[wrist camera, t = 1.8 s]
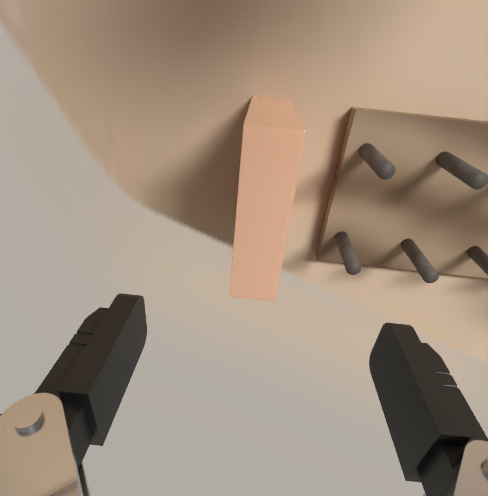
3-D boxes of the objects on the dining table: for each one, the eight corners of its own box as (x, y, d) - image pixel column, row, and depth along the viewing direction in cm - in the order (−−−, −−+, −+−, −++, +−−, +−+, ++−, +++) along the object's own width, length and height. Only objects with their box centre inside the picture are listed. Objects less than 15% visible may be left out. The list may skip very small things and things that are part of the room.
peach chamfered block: (252, 96, 22) (243, 123, 14) (292, 100, 22) (306, 130, 14) (240, 224, 27) (229, 296, 19) (273, 227, 27) (275, 301, 19)
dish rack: (351, 107, 22) (375, 123, 17) (628, 136, 22) (730, 160, 17) (315, 252, 28) (325, 294, 24) (529, 275, 28) (583, 322, 23)
